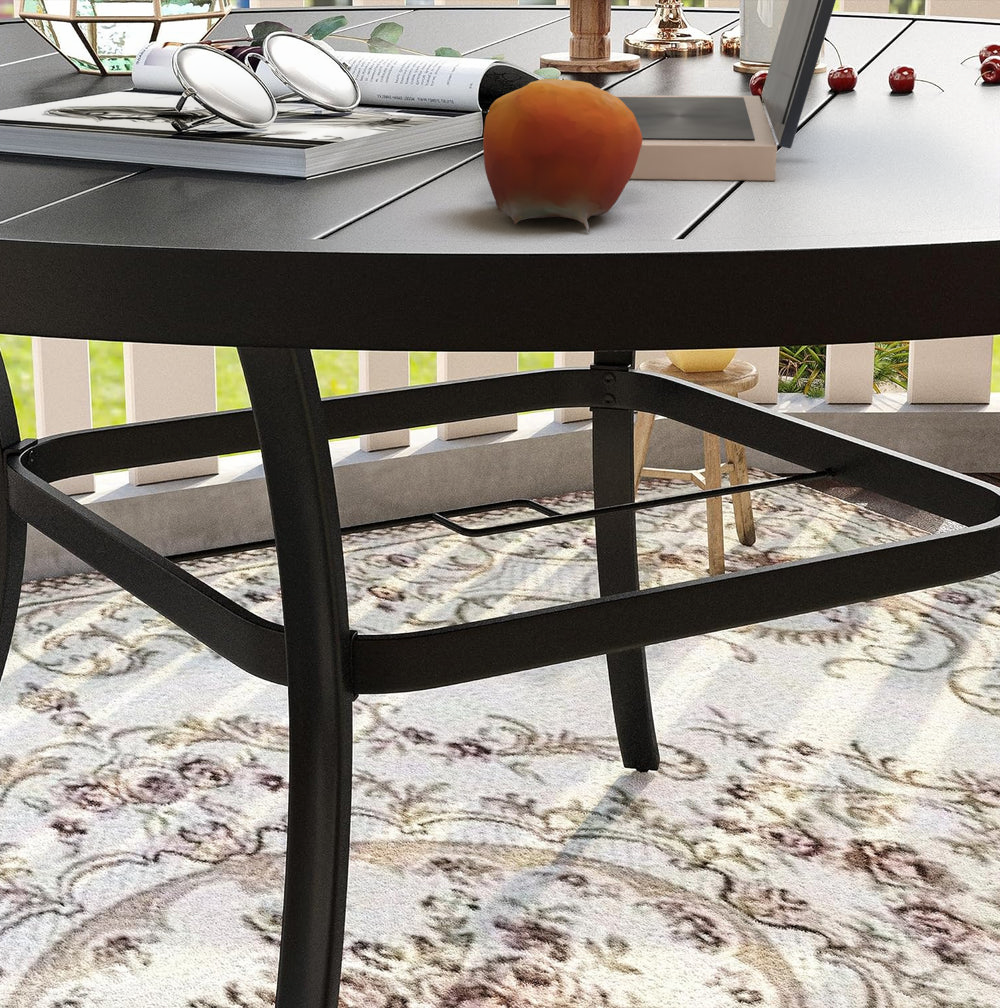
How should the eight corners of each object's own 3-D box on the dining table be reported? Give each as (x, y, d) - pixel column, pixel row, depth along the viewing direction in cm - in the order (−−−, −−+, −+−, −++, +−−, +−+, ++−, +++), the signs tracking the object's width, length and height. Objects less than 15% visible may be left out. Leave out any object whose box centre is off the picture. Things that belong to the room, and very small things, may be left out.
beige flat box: (517, 178, 83) (517, 142, 82) (550, 123, 103) (550, 93, 102) (775, 181, 81) (777, 143, 80) (758, 124, 101) (759, 94, 100)
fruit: (462, 211, 67) (474, 52, 68) (487, 261, 75) (498, 118, 76) (631, 214, 66) (641, 53, 67) (638, 265, 74) (647, 120, 75)
